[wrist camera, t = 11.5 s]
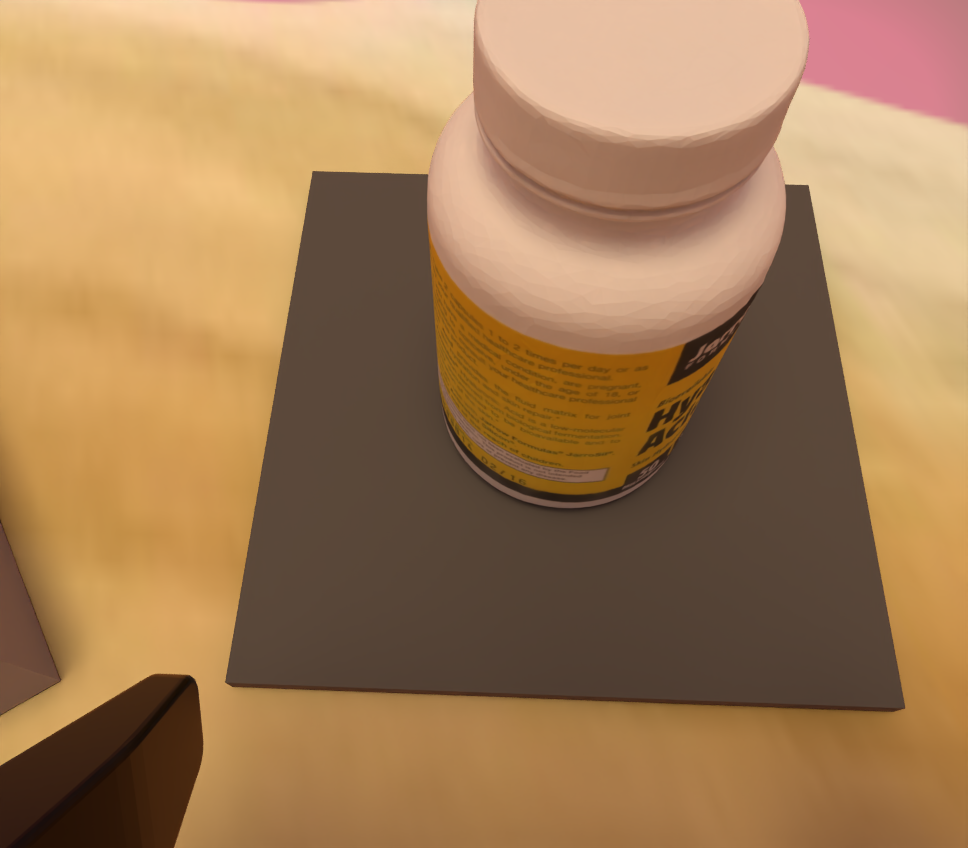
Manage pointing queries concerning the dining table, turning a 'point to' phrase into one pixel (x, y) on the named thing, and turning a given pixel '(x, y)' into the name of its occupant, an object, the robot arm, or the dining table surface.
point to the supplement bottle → (603, 229)
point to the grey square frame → (20, 638)
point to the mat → (553, 508)
